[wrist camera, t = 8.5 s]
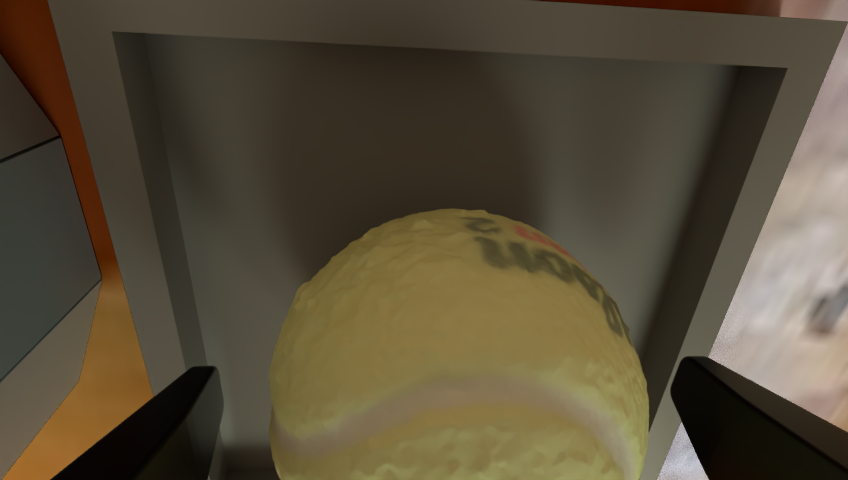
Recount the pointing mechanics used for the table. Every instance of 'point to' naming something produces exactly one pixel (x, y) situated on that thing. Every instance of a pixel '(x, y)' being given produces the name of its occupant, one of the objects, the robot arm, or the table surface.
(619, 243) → the tray
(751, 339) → the table surface
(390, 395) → the tennis ball
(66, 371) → the gray open ring
